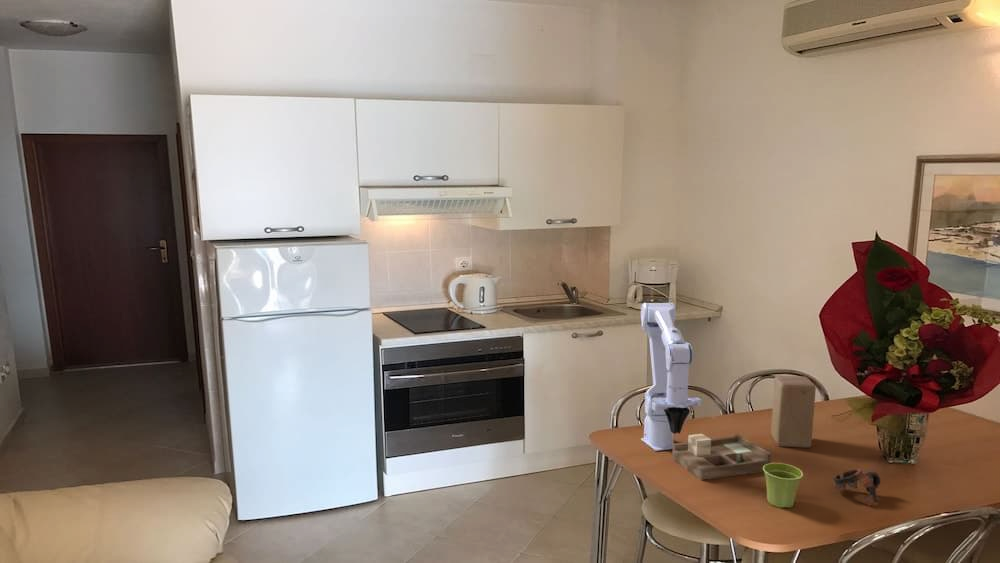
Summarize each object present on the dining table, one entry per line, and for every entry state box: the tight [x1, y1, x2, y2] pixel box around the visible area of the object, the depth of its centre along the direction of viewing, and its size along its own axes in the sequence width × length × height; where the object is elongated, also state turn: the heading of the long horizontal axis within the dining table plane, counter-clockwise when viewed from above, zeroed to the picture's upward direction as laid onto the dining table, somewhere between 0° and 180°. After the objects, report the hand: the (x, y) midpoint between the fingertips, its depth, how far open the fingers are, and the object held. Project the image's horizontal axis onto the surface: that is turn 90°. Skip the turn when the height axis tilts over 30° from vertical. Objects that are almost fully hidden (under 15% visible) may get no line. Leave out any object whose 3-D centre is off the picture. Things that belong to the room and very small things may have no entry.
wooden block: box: [770, 375, 817, 449], centre depth 213 cm, size 10×10×20 cm
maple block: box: [687, 433, 712, 456], centre depth 199 cm, size 4×4×4 cm
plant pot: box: [763, 462, 804, 509], centre depth 174 cm, size 9×9×9 cm
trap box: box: [671, 434, 772, 481], centre depth 197 cm, size 15×22×5 cm
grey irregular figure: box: [832, 468, 881, 507], centre depth 179 cm, size 12×10×8 cm
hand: (675, 432), depth 196 cm, fingers closed
